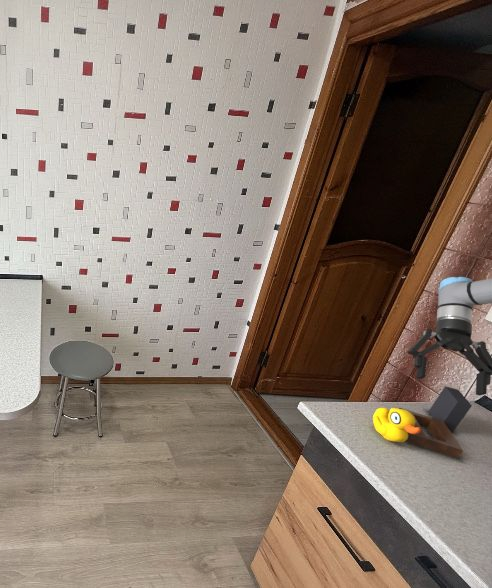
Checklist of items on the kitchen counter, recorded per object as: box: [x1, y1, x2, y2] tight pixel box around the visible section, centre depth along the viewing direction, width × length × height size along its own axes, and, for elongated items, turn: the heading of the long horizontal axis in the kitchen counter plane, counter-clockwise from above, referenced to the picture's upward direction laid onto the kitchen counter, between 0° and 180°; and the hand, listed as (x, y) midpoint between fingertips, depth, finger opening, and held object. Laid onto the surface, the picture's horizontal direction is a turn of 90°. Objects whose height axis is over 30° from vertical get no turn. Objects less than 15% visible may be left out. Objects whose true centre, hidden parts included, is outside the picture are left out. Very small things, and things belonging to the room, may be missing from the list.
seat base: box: [398, 407, 464, 460], centre depth 93 cm, size 10×12×3 cm
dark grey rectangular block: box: [428, 385, 473, 433], centre depth 97 cm, size 3×8×10 cm, turn 152°
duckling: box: [372, 407, 421, 443], centre depth 89 cm, size 11×5×10 cm, turn 175°
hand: (450, 385), depth 99 cm, fingers open, 13 cm apart
